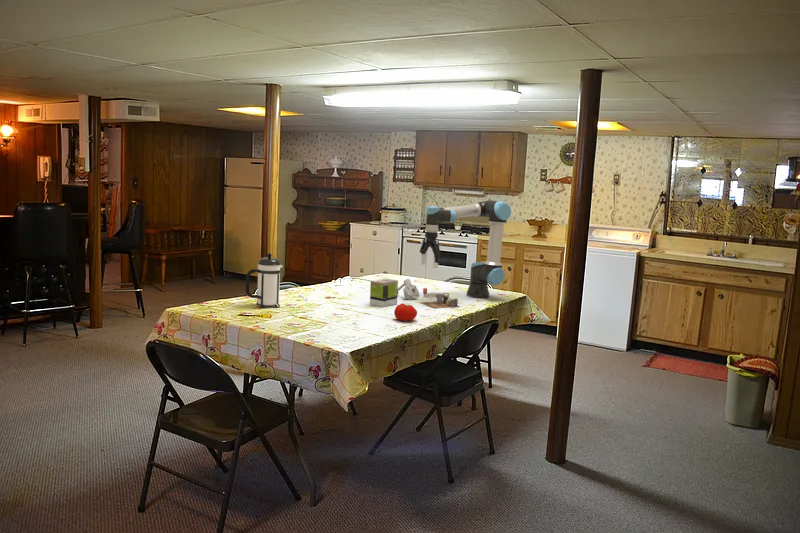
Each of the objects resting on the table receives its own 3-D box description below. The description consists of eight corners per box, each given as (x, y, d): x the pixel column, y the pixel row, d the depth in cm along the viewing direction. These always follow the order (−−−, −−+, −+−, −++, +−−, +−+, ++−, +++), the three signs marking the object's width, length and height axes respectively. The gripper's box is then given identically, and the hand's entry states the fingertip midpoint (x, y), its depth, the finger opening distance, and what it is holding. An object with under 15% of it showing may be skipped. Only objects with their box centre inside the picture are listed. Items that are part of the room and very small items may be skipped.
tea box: (384, 301, 386) (385, 277, 384) (397, 304, 381) (398, 280, 379) (369, 304, 374) (370, 280, 372) (382, 307, 369) (383, 282, 367)
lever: (447, 301, 388) (448, 287, 387) (450, 303, 383) (451, 289, 382) (421, 301, 384) (422, 287, 383) (423, 302, 379) (424, 289, 378)
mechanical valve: (410, 297, 390) (402, 276, 396) (394, 311, 401) (386, 291, 407) (422, 297, 397) (414, 277, 403) (405, 311, 408) (398, 291, 414)
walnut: (449, 304, 382) (450, 298, 382) (453, 306, 379) (454, 299, 378) (444, 305, 380) (444, 298, 380) (448, 306, 377) (448, 299, 376)
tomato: (419, 322, 335) (420, 307, 334) (397, 323, 332) (398, 307, 330) (412, 317, 347) (413, 302, 346) (390, 317, 344) (391, 302, 342)
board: (444, 302, 394) (445, 294, 393) (461, 308, 378) (462, 299, 377) (417, 304, 384) (418, 295, 383) (433, 310, 368) (434, 301, 367)
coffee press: (264, 302, 364) (265, 250, 360) (286, 305, 357) (288, 253, 353) (244, 306, 348) (245, 253, 344) (267, 310, 342) (269, 256, 337)
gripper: (415, 229, 392) (413, 263, 394) (437, 233, 370) (435, 269, 373) (425, 229, 395) (423, 263, 398) (448, 233, 374) (445, 269, 377)
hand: (429, 266), depth 386 cm, fingers open, 13 cm apart
